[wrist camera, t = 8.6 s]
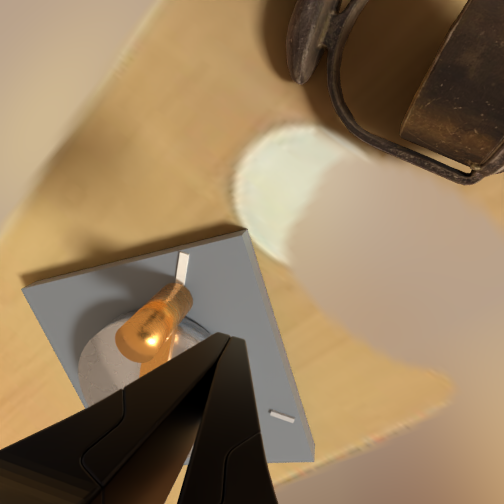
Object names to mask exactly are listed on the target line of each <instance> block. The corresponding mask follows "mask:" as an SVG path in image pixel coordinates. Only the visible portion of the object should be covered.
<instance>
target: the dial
mask: <svg viewBox="0 0 504 504" xmlns="http://www.w3.org/2000/svg"><path fill="white" fill-rule="evenodd" d="M192 306H193V297H192V295H191V293H190V291H189V290H188V289H187V288H186V287H185V286H183V285H181V284H178V283H169V284H167V285H165V286H164V287H163V288H162V289H161V290H160V291H159V292H157V293H156V294H155V295H154V296H153V297H152V298H151V299H150V300H149V301H148V302H147V303H146V304H145V305H144V306H143V307H141V308H140V309H139V310H135V311H131V312H127V313H125V314H122V315H120V316H118V317H117V318H115V319H113V320H112V321H111V322H110V323H109V324H108V325H106V326H105V327H104V328H103V329H102V330H101V331H100V332H98V333H97V334H96V335H95V336H94V337H93V338H92V339H91V340H89V342H88V343H87V344H86V346H85V347H84V349H83V351H82V353H81V356H80V360H79V366H78V377H79V383H80V387H81V390H82V393H83V396H84V398H85V400H86V402H87V404H88V406H89V407H90V406H91V405H93V404H95V403H97V402H99V401H100V400H102V399H104V398H106V397H108V396H109V395H111V394H113V393H114V392H116V391H118V390H119V389H123V388H124V387H125V386H126V385H128V384H130V383H131V382H133V381H135V380H137V379H138V378H140V377H142V376H143V375H145V374H147V373H148V372H150V371H152V370H153V369H155V368H157V367H159V366H160V365H162V364H164V363H165V362H167V361H169V360H170V359H172V358H174V357H175V356H177V355H179V354H180V353H182V352H184V351H186V350H187V349H189V348H191V347H192V346H194V345H196V344H197V343H199V342H201V341H202V340H204V339H206V338H208V337H209V336H211V334H210V333H208V332H207V331H206V330H205V329H203V328H202V327H200V326H199V325H197V324H196V323H194V322H192V321H190V320H189V319H187V318H184V317H185V316H186V315H187V314H188V312H189V311H190V310H191V308H192ZM193 446H194V444H193ZM193 446H192V448H191V451H190V453H189V455H188V457H187V458H190V456H191V453H192V449H193Z"/></svg>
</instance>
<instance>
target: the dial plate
mask: <svg viewBox="0 0 504 504" xmlns="http://www.w3.org/2000/svg"><path fill="white" fill-rule="evenodd" d="M169 283H178V284H181V285H183V286H185V287H186V288H187V289H188V290H189V291H190V293H191V295H192V297H193V306H192V308H191V310H190V311H189V312H188V314H187V315H186V316H185V317H184V318H187V319H189V320H190V321H192V322H194V323H196V324H197V325H199V326H200V327H202V328H203V329H205V330H206V331H207V332H208V333H210V334H211V335H213V334H214V333H216V332H221V333H224V334H228V335H230V336H231V337H232V336H235V337H239V338H242V339H245V341H246V346H247V352H248V357H249V363H250V369H251V375H252V381H253V387H254V393H255V399H256V405H257V410H258V416H259V422H260V428H261V434H262V439H263V445H264V450H265V455H266V460H267V463H286V462H314V454H315V444H314V441H313V438H312V434H311V431H310V428H309V425H308V422H307V418H306V415H305V412H304V409H303V406H302V402H301V399H300V396H299V393H298V390H297V386H296V383H295V380H294V377H293V374H292V370H291V367H290V364H289V361H288V358H287V354H286V351H285V348H284V345H283V342H282V338H281V335H280V332H279V329H278V326H277V322H276V319H275V316H274V313H273V310H272V306H271V303H270V300H269V297H268V294H267V290H266V287H265V284H264V281H263V277H262V274H261V271H260V268H259V265H258V261H257V258H256V255H255V252H254V249H253V245H252V242H251V239H250V236H249V233H248V229H245V230H241V231H237V232H233V233H229V234H225V235H221V236H217V237H213V238H209V239H205V240H201V241H197V242H192V243H188V244H184V245H180V246H176V247H172V248H168V249H164V250H160V251H156V252H152V253H148V254H144V255H140V256H136V257H132V258H128V259H124V260H120V261H116V262H112V263H108V264H104V265H100V266H96V267H92V268H88V269H84V270H80V271H76V272H72V273H68V274H64V275H60V276H56V277H52V278H48V279H44V280H40V281H36V282H34V283H32V284H30V285H28V286H26V287H24V288H22V289H21V290H22V292H23V294H24V296H25V298H26V299H27V301H28V303H29V305H30V307H31V309H32V311H33V312H34V314H35V316H36V318H37V320H38V322H39V324H40V325H41V327H42V329H43V331H44V333H45V335H46V337H47V338H48V340H49V342H50V344H51V346H52V348H53V349H54V351H55V353H56V355H57V357H58V359H59V361H60V362H61V364H62V366H63V368H64V370H65V372H66V374H67V375H68V377H69V379H70V381H71V383H72V385H73V387H74V388H75V390H76V392H77V394H78V396H79V398H80V400H81V401H82V403H83V405H84V407H85V409H86V408H88V407H89V406H88V404H87V402H86V400H85V398H84V396H83V393H82V390H81V387H80V383H79V377H78V366H79V360H80V356H81V353H82V351H83V349H84V347H85V346H86V344H87V343H88V342H89V340H91V339H92V338H93V337H94V336H95V335H96V334H97V333H98V332H100V331H101V330H102V329H103V328H104V327H105V326H106V325H108V324H109V323H110V322H111V321H112V320H113V319H115V318H117V317H118V316H120V315H122V314H125V313H127V312H131V311H135V310H139V309H140V308H141V307H143V306H144V305H145V304H146V303H147V302H148V301H149V300H150V299H151V298H152V297H153V296H154V295H155V294H156V293H157V292H159V291H160V290H161V289H162V288H163V287H164V286H165V285H167V284H169ZM189 460H190V458H187V459H186V461H185V463H184V465H188V463H189Z"/></svg>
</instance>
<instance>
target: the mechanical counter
mask: <svg viewBox="0 0 504 504" xmlns="http://www.w3.org/2000/svg"><path fill="white" fill-rule="evenodd" d="M368 1H369V0H351V1H350V3H349V4H348V5H347V7H346V8H345V9H344V11H343V12H342V13H339V10H340V6H341V2H342V0H297V2H296V4H295V7H294V10H293V13H292V16H291V18H290V21H289V26H288V31H287V37H286V54H287V66H288V69H289V73H290V76H291V79H292V80H293V81H295V82H296V83H297V84H300V85H302V84H304V83H306V82H307V81H308V80H309V78H310V77H311V75H312V74H313V72H314V71H315V69H316V67H317V65H318V63H319V61H320V59H321V57H322V55H323V53H324V51H325V49H326V48H327V49H328V57H327V87H328V90H329V94H330V98H331V101H332V105H333V107H334V109H335V111H336V113H337V114H338V116H339V117H340V119H341V120H342V122H343V123H344V124H345V126H346V127H347V129H348V130H349V132H351V133H352V134H353V135H355V136H356V137H357V138H359V139H360V140H362V141H364V142H366V143H367V144H369V145H371V146H373V147H375V148H377V149H379V150H381V151H384V152H386V153H388V154H391V155H393V156H395V157H398V158H400V159H402V160H405V161H407V162H409V163H411V164H414V165H416V166H418V167H421V168H423V169H425V170H428V171H430V172H432V173H434V174H437V175H439V176H441V177H444V178H446V179H448V180H451V181H453V182H455V183H458V184H462V185H472V184H475V183H478V182H479V181H480V180H482V179H483V178H484V177H487V176H490V175H493V174H498V173H502V172H504V0H468V1H467V3H466V5H465V6H464V8H463V10H462V11H461V13H460V14H459V16H458V17H457V19H456V20H455V22H454V23H453V25H452V26H451V28H450V29H449V31H448V33H447V35H446V37H445V38H444V40H443V42H442V44H441V46H440V48H439V50H438V52H437V54H436V56H435V58H434V60H433V62H432V64H431V66H430V68H429V70H428V71H427V73H426V75H425V77H424V79H423V80H422V82H421V84H420V86H419V88H418V90H417V92H416V94H415V96H414V98H413V100H412V102H411V104H410V106H409V108H408V111H407V113H406V115H405V117H404V119H403V121H402V123H401V126H400V132H399V136H400V137H401V138H403V139H405V140H408V141H410V142H412V143H415V144H417V145H420V146H422V147H425V148H427V149H429V150H431V151H434V152H436V153H438V154H441V155H443V156H445V157H448V158H450V159H452V160H454V161H457V162H459V163H462V164H464V165H466V166H469V167H470V169H472V170H471V173H465V172H462V171H460V170H457V169H455V168H452V167H450V166H448V165H445V164H443V163H441V162H439V161H437V160H434V159H432V158H430V157H428V156H425V155H423V154H420V153H418V152H415V151H413V150H411V149H408V148H405V147H403V146H400V145H398V144H396V143H393V142H391V141H388V140H386V139H383V138H381V137H378V136H375V135H373V134H370V133H369V132H367V131H365V130H364V129H362V128H361V127H360V126H359V125H358V124H357V123H356V121H355V119H354V117H353V116H352V114H351V112H350V110H349V109H348V107H347V105H346V103H345V102H344V98H343V94H342V90H341V83H340V65H341V59H342V52H343V48H344V46H345V43H346V40H347V38H348V35H349V33H350V31H351V29H352V27H353V25H354V23H355V21H356V19H357V17H358V15H359V14H360V12H361V11H362V10H363V8H364V7H365V5H366V4H367V2H368Z"/></svg>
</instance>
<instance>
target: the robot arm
mask: <svg viewBox="0 0 504 504" xmlns="http://www.w3.org/2000/svg"><path fill="white" fill-rule="evenodd" d="M193 444H194V446H193ZM192 446H193V449H192V453H191V456H190V460H189V463H188V467H187V470H186V474H185V477H184V481H183V485H182V488H181V492H180V495H179V499H178V502H177V504H278V501H277V498H276V494H275V491H274V487H273V484H272V480H271V477H270V473H269V469H268V465H267V460H266V455H265V450H264V445H263V439H262V434H261V428H260V422H259V416H258V410H257V405H256V399H255V393H254V387H253V381H252V375H251V369H250V363H249V357H248V352H247V346H246V341H245V339H242V338H239V337H235V336H232V337H231V336H230V335H228V334H224V333H221V332H216V333H214V334H213V335H211V336H209V337H208V338H206V339H204V340H202V341H201V342H199V343H197V344H196V345H194V346H192V347H191V348H189V349H187V350H186V351H184V352H182V353H180V354H179V355H177V356H175V357H174V358H172V359H170V360H169V361H167V362H165V363H164V364H162V365H160V366H159V367H157V368H155V369H153V370H152V371H150V372H148V373H147V374H145V375H143V376H142V377H140V378H138V379H137V380H135V381H133V382H131V383H130V384H128V385H126V386H125V387H124V388H123V389H119V390H118V391H116V392H114V393H113V394H111V395H109V396H108V397H106V398H104V399H102V400H100V401H99V402H97V403H95V404H93V405H91V406H90V407H88V408H86V409H84V410H82V411H80V412H78V413H76V414H74V415H72V416H70V417H68V418H66V419H64V420H62V421H60V422H58V423H56V424H54V425H51V426H49V427H47V428H45V429H43V430H41V431H39V432H37V433H35V434H33V435H30V436H28V437H26V438H24V439H22V440H20V441H18V442H16V443H14V444H12V445H9V446H7V447H5V448H3V449H1V450H0V504H164V503H165V501H166V499H167V497H168V495H169V493H170V491H171V489H172V487H173V485H174V483H175V481H176V479H177V477H178V475H179V473H180V471H181V469H182V467H183V465H184V463H185V461H186V459H187V457H188V455H189V453H190V451H191V448H192Z"/></svg>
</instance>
